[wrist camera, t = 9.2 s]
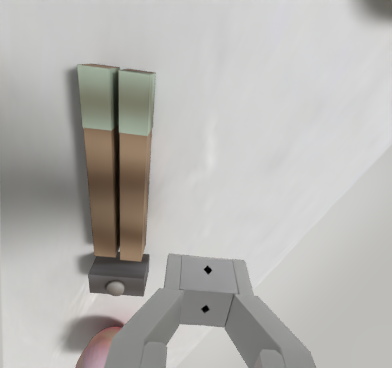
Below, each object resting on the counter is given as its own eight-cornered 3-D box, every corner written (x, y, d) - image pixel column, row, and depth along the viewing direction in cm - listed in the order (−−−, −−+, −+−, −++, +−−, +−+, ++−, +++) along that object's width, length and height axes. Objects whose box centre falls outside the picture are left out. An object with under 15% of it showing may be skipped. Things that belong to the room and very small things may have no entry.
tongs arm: (146, 244, 31) (141, 262, 29) (126, 242, 31) (119, 260, 29) (155, 72, 22) (150, 74, 20) (127, 68, 22) (118, 70, 20)
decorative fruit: (130, 350, 42) (114, 429, 33) (84, 336, 40) (53, 415, 32) (155, 320, 39) (144, 398, 30) (106, 302, 37) (78, 380, 28)
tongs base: (86, 63, 22) (62, 64, 18) (157, 72, 23) (150, 75, 19) (100, 267, 34) (88, 296, 29) (148, 271, 34) (142, 300, 30)
